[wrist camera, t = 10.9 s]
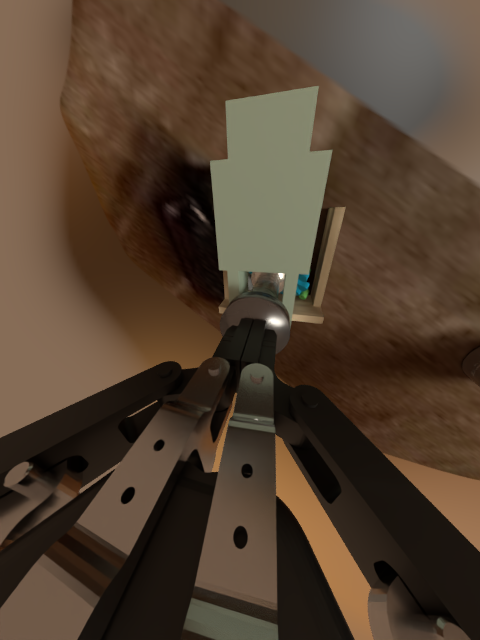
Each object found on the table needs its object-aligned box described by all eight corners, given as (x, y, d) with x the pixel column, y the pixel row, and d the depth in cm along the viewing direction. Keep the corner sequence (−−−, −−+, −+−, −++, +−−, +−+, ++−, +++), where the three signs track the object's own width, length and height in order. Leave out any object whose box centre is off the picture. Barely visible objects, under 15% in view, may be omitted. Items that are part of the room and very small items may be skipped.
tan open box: (337, 207, 22) (354, 206, 16) (315, 301, 29) (322, 323, 23) (227, 210, 25) (209, 210, 19) (232, 294, 32) (219, 312, 26)
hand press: (308, 162, 21) (349, 61, 7) (293, 269, 27) (297, 331, 13) (258, 166, 22) (204, 88, 8) (255, 267, 29) (223, 322, 15)
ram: (292, 256, 18) (295, 302, 9) (287, 295, 21) (285, 362, 12) (251, 255, 19) (217, 296, 10) (250, 292, 22) (222, 352, 13)
